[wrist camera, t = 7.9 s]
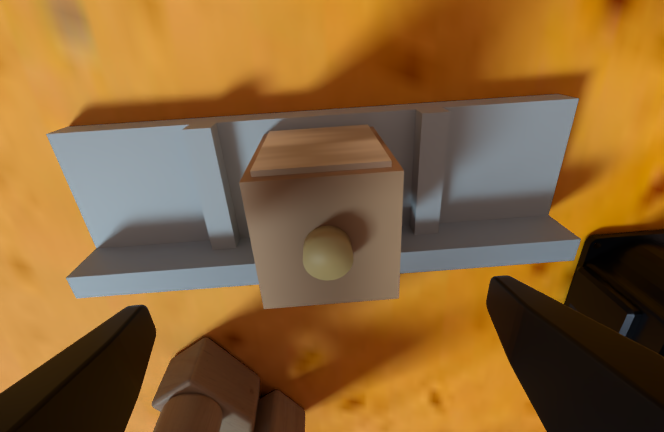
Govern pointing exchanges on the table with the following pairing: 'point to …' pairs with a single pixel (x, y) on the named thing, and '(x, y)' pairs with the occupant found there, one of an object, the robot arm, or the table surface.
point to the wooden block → (219, 396)
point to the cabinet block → (324, 216)
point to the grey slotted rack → (247, 130)
